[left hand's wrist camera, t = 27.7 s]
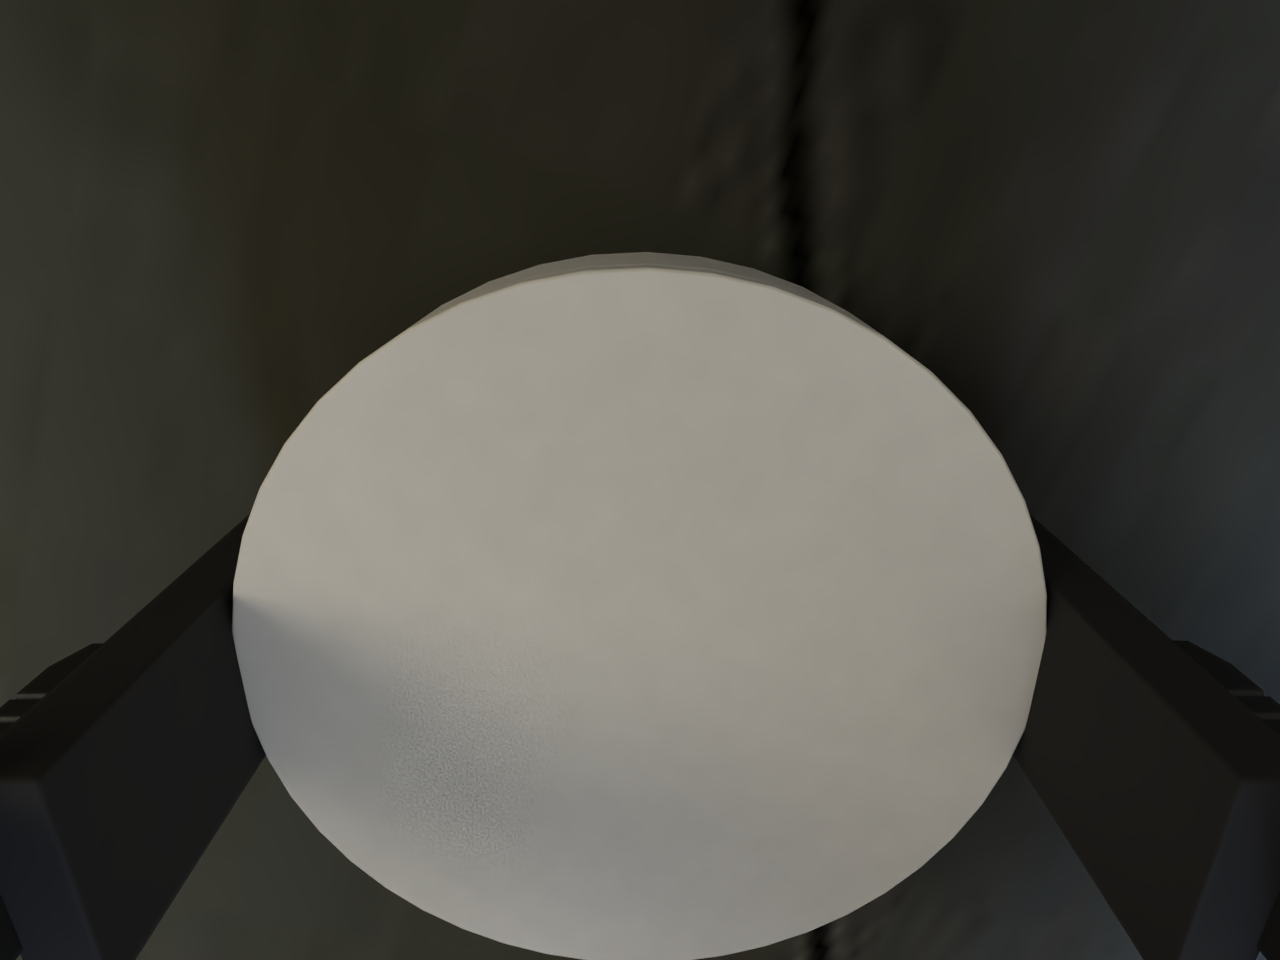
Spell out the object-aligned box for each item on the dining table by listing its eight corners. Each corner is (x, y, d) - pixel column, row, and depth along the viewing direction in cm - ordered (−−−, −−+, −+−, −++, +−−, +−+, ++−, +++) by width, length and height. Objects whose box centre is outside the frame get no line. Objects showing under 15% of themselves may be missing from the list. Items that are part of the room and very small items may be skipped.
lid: (231, 244, 10) (150, 258, 8) (1058, 258, 10) (1141, 276, 8) (334, 867, 14) (294, 961, 12) (933, 874, 14) (971, 967, 12)
